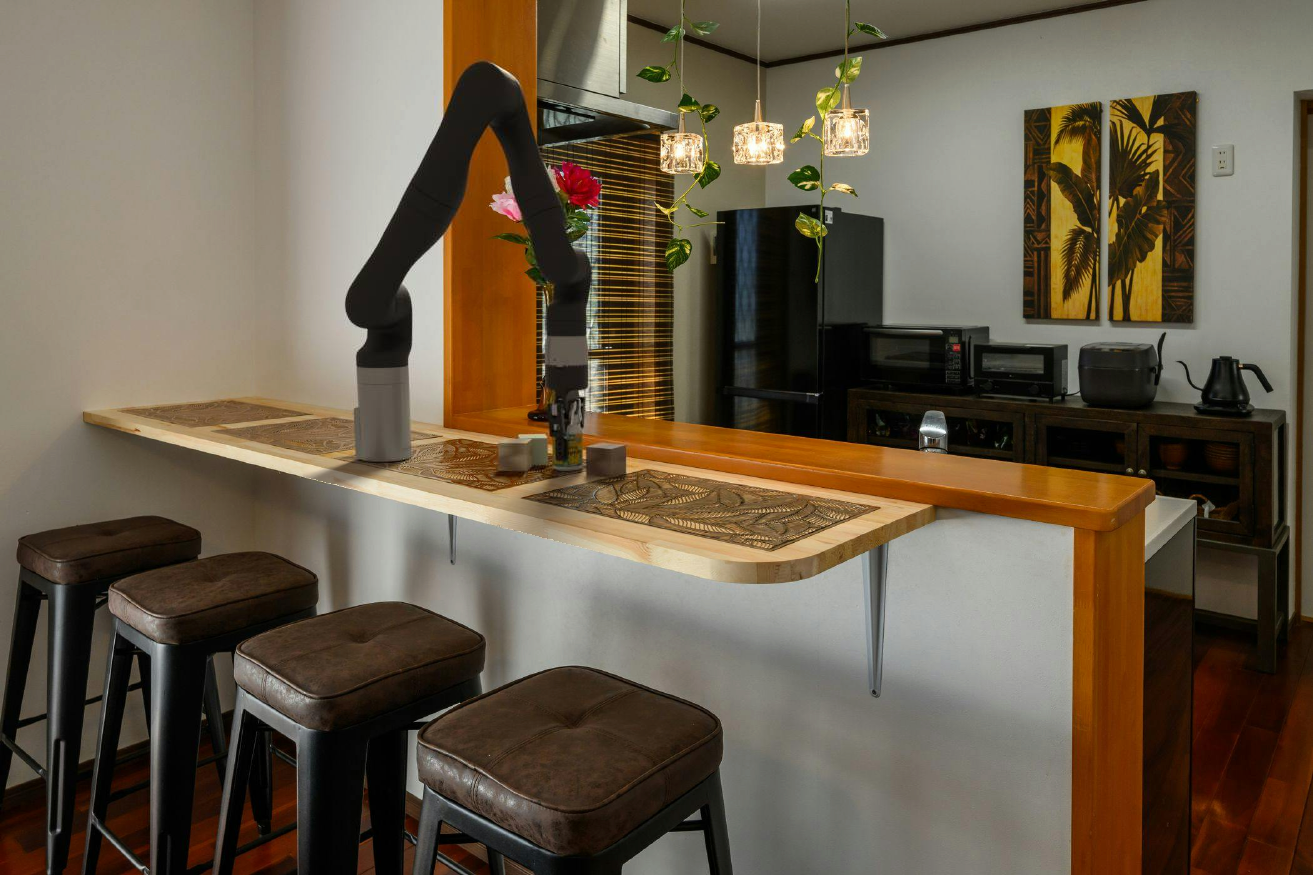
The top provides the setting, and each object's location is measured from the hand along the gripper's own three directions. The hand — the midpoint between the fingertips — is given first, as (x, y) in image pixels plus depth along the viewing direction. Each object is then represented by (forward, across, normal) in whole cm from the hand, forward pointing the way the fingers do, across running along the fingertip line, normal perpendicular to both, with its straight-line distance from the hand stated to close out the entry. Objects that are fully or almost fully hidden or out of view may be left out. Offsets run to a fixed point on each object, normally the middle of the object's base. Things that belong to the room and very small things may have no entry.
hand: (567, 457), depth 160 cm
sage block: (+2, -4, -8) cm, 9 cm away
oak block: (+2, +2, -9) cm, 9 cm away
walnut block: (+2, +3, +8) cm, 9 cm away
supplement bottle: (+2, 0, 0) cm, 2 cm away
